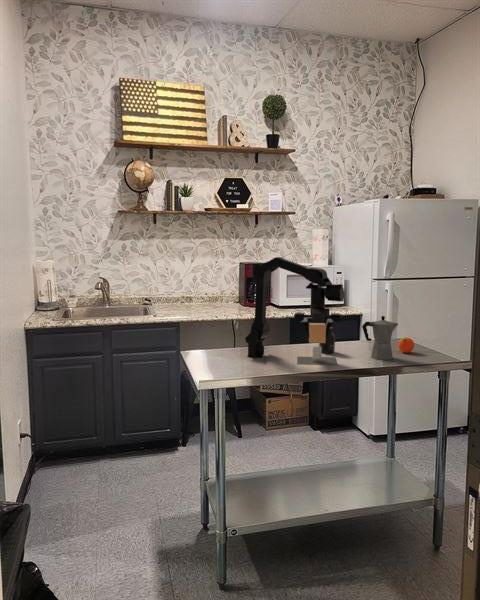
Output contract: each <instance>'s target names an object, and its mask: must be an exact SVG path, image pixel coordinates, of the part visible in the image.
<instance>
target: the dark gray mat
mask: <svg viewBox="0 0 480 600" xmlns="http://www.w3.org/2000/svg"><path fill="white" fill-rule="evenodd" d="M296 364H297V365H307V366H309V365H310V366H311V365H313V366H314V365H315V366H339V364H338V361H337V358H336V357H334V356H333V357H332V356H321V362H313V356H299V355H298V356H297V357H296Z"/></svg>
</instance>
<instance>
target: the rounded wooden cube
mask: <svg viewBox="0 0 480 600" xmlns="http://www.w3.org/2000/svg"><path fill="white" fill-rule="evenodd" d="M308 328H309V338H308V343H309V344H319V343H325V340H326V323H325V322H324V323H323V322H308Z"/></svg>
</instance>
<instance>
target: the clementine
mask: <svg viewBox="0 0 480 600" xmlns="http://www.w3.org/2000/svg"><path fill="white" fill-rule="evenodd" d="M397 347H398V349H399V350H400V352H402V353H405V354H407V353H408V354H409V353H411V352H412V351H413V350H414V349H415V342H414V340H413V339H412V338H410V337H407V336H406V337H402V338H400V339H399V341H398V343H397Z"/></svg>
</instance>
